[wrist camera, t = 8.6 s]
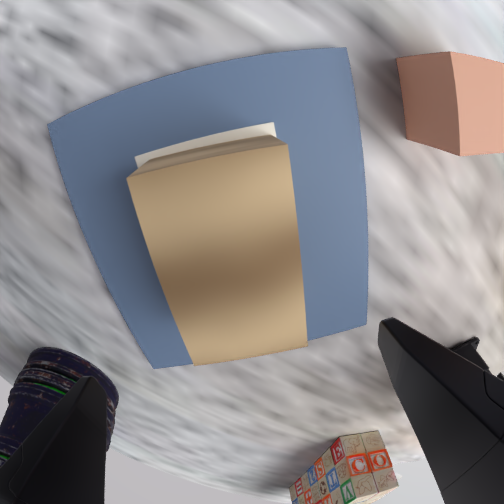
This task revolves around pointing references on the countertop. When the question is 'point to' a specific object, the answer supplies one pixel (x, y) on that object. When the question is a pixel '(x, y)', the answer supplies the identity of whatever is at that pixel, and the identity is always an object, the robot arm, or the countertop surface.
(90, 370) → the storage jar
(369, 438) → the stack of blocks
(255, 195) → the oak brick
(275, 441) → the countertop surface
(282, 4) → the countertop surface
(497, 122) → the terracotta cube
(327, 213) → the board
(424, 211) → the countertop surface
